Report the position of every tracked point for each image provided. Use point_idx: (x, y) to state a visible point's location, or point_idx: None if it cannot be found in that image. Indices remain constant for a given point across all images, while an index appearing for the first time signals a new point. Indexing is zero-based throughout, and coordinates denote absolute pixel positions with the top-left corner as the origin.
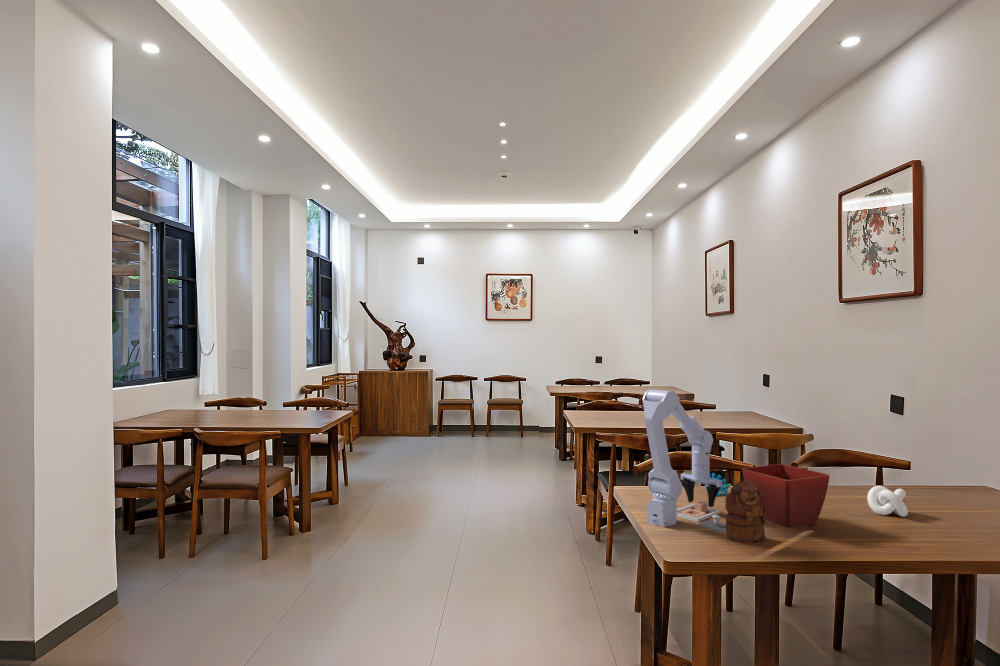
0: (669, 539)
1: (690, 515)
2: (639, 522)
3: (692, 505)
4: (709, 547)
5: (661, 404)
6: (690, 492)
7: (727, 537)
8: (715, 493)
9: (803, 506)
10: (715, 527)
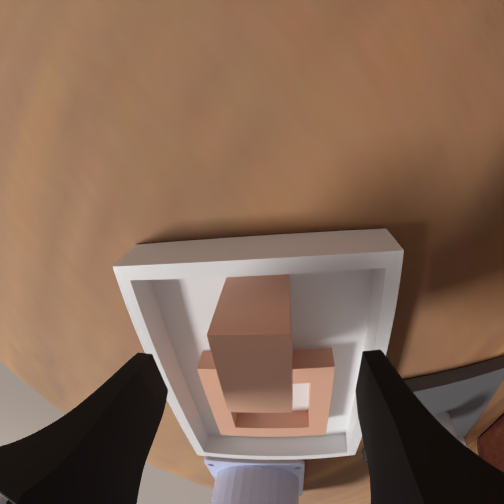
0: (342, 500)
1: (285, 433)
2: (199, 483)
3: (138, 297)
4: None
5: None
6: (131, 451)
7: (479, 454)
8: (440, 461)
9: None
10: None
